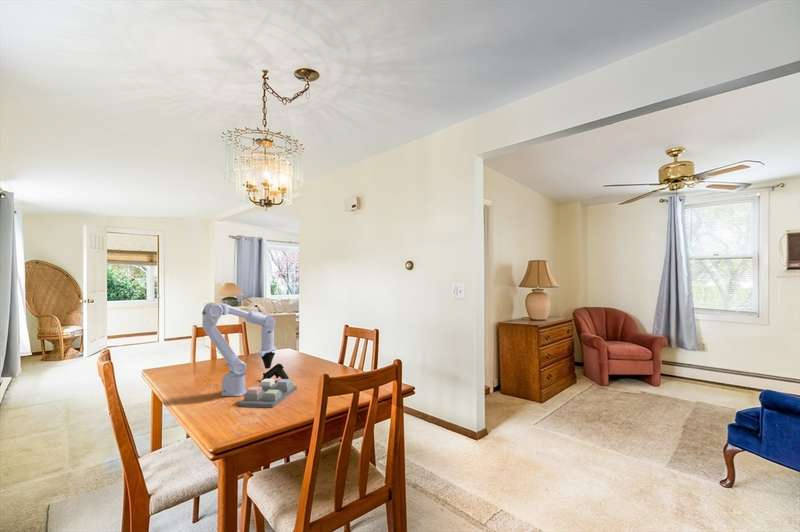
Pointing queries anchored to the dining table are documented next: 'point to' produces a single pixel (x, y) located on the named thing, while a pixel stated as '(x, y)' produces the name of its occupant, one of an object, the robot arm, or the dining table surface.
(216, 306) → the robot arm
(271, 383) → the cream button
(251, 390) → the rose button
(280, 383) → the slate button
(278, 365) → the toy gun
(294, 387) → the control console
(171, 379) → the dining table surface
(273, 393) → the sage button
